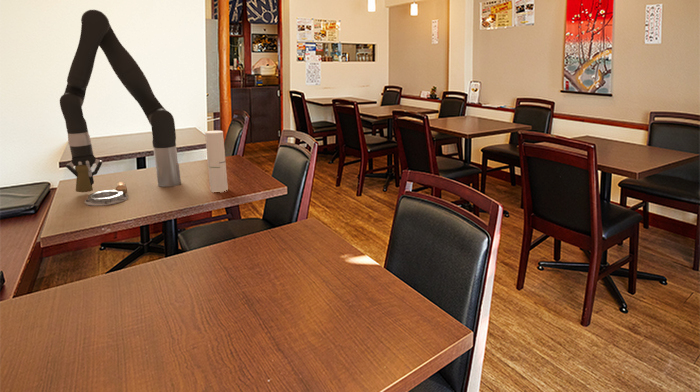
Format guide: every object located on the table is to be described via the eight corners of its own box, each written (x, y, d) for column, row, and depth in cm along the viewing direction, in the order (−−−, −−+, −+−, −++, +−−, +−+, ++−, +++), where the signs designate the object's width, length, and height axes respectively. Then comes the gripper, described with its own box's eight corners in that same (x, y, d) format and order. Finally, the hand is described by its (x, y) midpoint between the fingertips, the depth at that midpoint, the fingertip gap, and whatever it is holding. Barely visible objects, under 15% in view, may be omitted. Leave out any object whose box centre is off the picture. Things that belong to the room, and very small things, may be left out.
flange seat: (127, 192, 182) (126, 187, 181) (128, 202, 169) (127, 197, 168) (86, 197, 175) (84, 191, 174) (83, 208, 162) (82, 202, 162)
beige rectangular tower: (231, 190, 186) (226, 131, 178) (216, 193, 181) (210, 133, 173) (222, 186, 190) (217, 129, 183) (207, 190, 185) (201, 131, 178)
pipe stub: (116, 190, 185) (114, 181, 183) (127, 189, 186) (125, 179, 185) (116, 195, 178) (114, 185, 176) (127, 194, 180) (126, 184, 178)
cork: (85, 192, 175) (83, 166, 172) (72, 191, 176) (69, 164, 173) (96, 189, 181) (94, 163, 178) (83, 187, 181) (81, 161, 179)
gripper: (100, 140, 179) (107, 180, 185) (61, 143, 173) (70, 185, 179) (99, 143, 173) (107, 185, 178) (59, 147, 167) (68, 190, 173)
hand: (88, 185), depth 179 cm, fingers closed on cork, 1 cm apart
